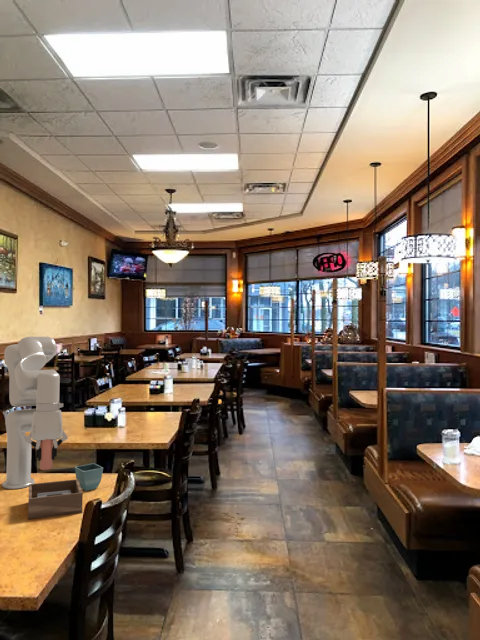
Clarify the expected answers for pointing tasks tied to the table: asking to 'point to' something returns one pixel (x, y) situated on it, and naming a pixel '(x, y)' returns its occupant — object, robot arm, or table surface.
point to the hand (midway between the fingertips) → (46, 458)
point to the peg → (46, 454)
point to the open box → (54, 499)
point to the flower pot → (89, 476)
